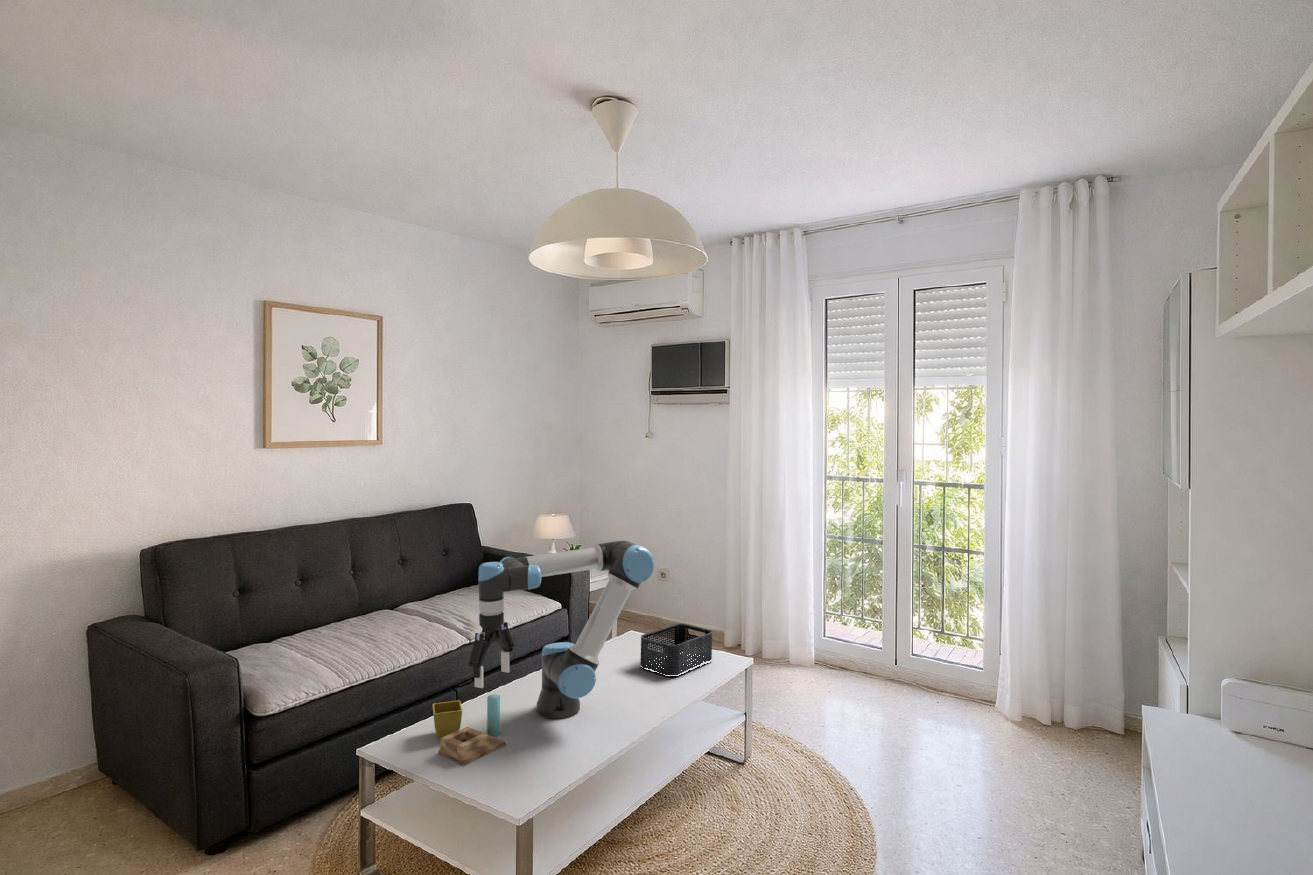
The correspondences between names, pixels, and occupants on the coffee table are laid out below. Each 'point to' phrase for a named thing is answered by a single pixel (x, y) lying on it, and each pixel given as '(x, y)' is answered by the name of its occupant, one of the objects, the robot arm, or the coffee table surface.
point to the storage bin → (675, 649)
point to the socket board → (468, 745)
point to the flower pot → (447, 717)
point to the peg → (493, 715)
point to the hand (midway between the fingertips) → (492, 679)
